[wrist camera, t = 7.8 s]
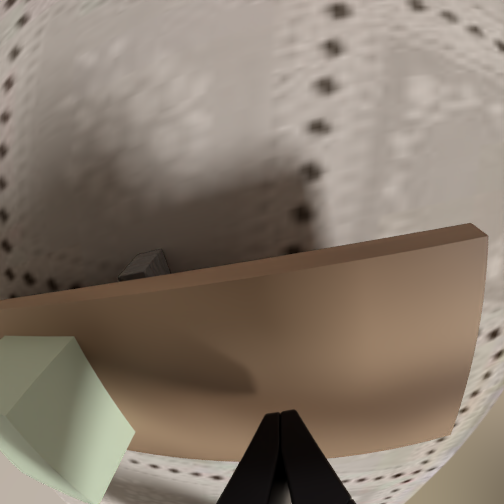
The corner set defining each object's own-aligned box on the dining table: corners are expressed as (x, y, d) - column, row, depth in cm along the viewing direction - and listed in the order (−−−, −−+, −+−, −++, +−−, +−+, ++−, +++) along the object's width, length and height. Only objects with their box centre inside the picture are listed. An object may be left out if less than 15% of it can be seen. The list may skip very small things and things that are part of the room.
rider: (135, 431, 11) (97, 506, 7) (59, 416, 12) (21, 472, 8) (74, 336, 9) (5, 416, 6) (4, 335, 10) (-50, 389, 7)
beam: (444, 416, 10) (456, 454, 8) (55, 418, 14) (39, 441, 12) (470, 222, 7) (509, 252, 5) (-18, 302, 11) (-43, 322, 10)
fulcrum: (222, 401, 14) (218, 432, 12) (203, 403, 14) (197, 433, 12) (161, 248, 11) (143, 271, 10) (138, 254, 12) (117, 277, 10)
